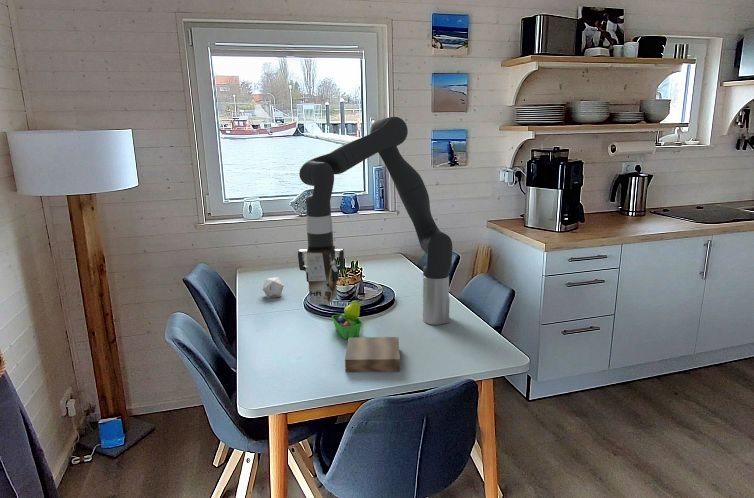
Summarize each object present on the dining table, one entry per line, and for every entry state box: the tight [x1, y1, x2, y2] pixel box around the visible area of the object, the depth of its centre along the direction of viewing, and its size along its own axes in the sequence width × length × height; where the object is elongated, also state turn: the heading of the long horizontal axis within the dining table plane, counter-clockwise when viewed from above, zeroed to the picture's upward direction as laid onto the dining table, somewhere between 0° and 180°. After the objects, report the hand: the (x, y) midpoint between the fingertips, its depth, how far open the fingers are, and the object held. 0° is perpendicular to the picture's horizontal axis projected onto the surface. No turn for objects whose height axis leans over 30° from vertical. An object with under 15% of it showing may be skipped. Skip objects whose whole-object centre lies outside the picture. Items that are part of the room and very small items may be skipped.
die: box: [262, 276, 284, 299], centre depth 212 cm, size 8×9×10 cm
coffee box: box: [306, 244, 338, 305], centre depth 154 cm, size 9×6×16 cm
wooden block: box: [344, 336, 401, 373], centre depth 156 cm, size 16×15×4 cm
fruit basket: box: [331, 300, 363, 340], centre depth 175 cm, size 11×9×11 cm
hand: (322, 282), depth 155 cm, fingers closed on coffee box, 7 cm apart
